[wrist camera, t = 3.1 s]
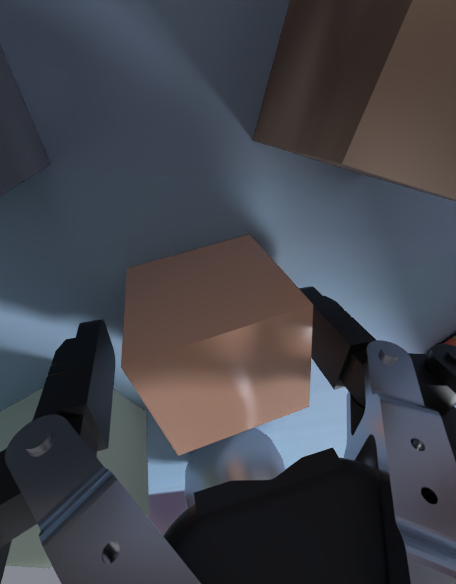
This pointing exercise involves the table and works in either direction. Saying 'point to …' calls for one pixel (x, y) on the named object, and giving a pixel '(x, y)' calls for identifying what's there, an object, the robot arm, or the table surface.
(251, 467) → the plastic bottle
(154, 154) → the table surface
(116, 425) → the sage cube
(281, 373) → the terracotta cube
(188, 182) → the table surface
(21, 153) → the charcoal cube
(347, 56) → the walnut cube
